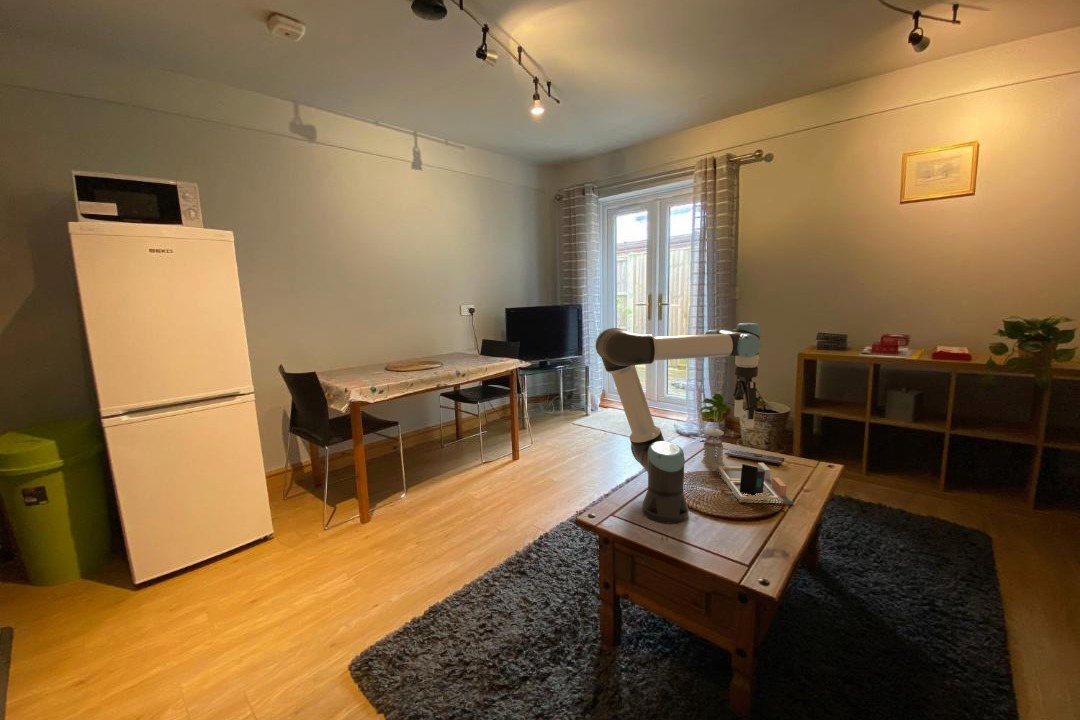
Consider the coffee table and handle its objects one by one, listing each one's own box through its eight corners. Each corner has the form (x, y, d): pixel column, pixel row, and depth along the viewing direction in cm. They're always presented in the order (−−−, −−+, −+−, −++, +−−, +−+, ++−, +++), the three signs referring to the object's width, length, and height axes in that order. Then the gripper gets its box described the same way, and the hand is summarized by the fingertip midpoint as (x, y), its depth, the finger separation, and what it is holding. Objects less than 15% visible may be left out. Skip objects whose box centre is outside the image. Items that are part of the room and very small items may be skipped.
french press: (720, 458, 194) (723, 403, 190) (729, 468, 183) (731, 411, 179) (698, 457, 195) (699, 404, 191) (705, 468, 184) (707, 411, 180)
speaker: (753, 497, 155) (755, 468, 154) (739, 491, 160) (741, 463, 159) (766, 494, 158) (768, 466, 157) (752, 488, 163) (754, 461, 163)
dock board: (739, 503, 154) (739, 489, 153) (716, 470, 181) (716, 458, 180) (793, 504, 152) (794, 490, 151) (761, 471, 179) (762, 459, 178)
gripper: (770, 371, 145) (766, 432, 149) (746, 360, 170) (743, 412, 173) (746, 371, 146) (743, 432, 150) (726, 360, 171) (724, 412, 174)
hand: (743, 421), depth 161 cm, fingers open, 13 cm apart
